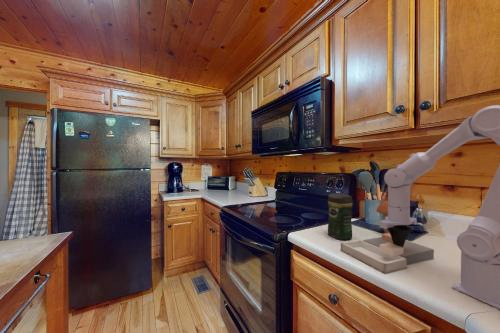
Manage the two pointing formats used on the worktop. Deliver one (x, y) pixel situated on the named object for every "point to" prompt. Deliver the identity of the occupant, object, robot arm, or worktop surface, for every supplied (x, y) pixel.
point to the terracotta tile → (387, 237)
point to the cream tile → (391, 249)
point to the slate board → (408, 250)
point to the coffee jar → (340, 216)
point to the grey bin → (373, 256)
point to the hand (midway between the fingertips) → (398, 248)
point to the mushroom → (383, 211)
